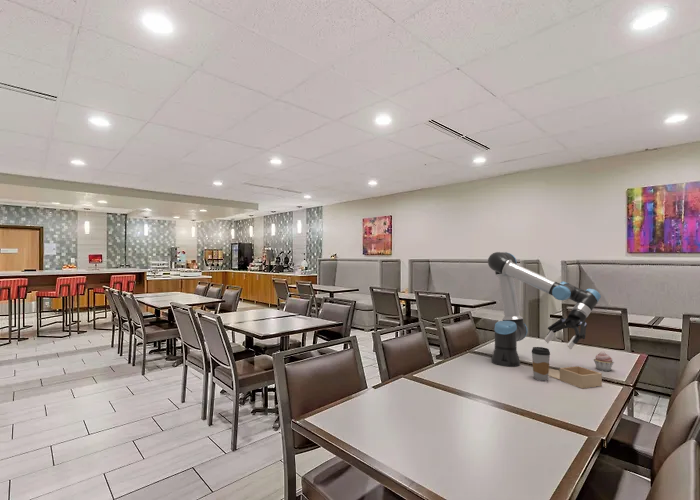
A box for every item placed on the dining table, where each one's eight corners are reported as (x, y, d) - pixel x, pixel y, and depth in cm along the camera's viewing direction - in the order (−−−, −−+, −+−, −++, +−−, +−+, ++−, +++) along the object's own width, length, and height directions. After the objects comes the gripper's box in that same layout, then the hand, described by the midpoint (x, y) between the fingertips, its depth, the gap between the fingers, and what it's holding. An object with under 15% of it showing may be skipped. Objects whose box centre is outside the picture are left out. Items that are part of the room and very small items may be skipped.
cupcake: (618, 372, 193) (618, 353, 193) (600, 372, 193) (600, 353, 194) (606, 367, 202) (606, 349, 203) (589, 366, 203) (589, 349, 203)
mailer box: (534, 371, 193) (534, 359, 193) (552, 369, 197) (552, 358, 197) (582, 388, 167) (582, 375, 167) (601, 386, 171) (601, 373, 171)
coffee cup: (545, 376, 184) (545, 347, 185) (553, 382, 176) (553, 351, 176) (528, 375, 185) (528, 346, 185) (535, 381, 177) (535, 350, 177)
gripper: (606, 322, 178) (583, 355, 173) (562, 315, 202) (541, 343, 197) (598, 312, 177) (575, 344, 172) (555, 305, 200) (533, 334, 195)
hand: (557, 344), depth 184 cm, fingers open, 13 cm apart
